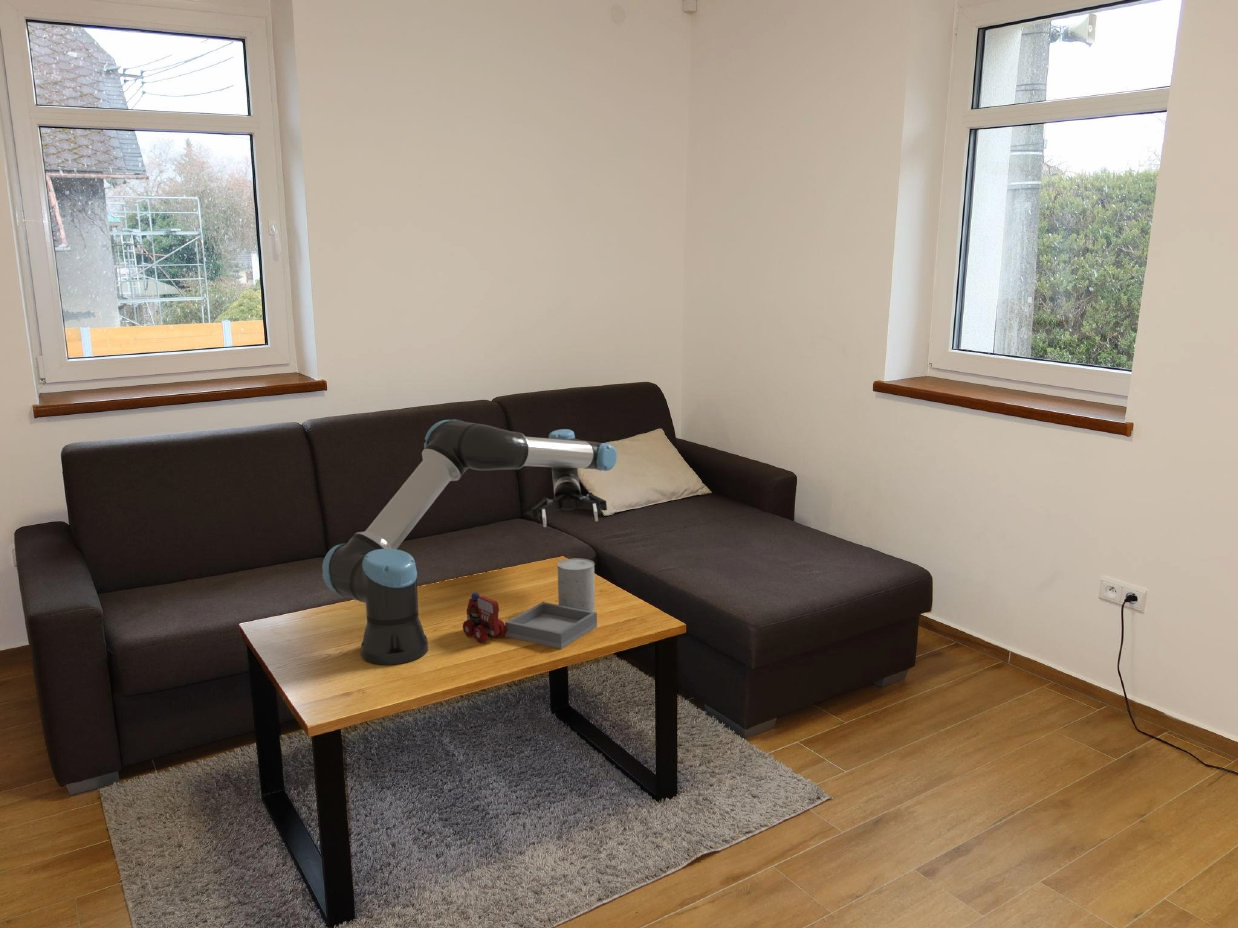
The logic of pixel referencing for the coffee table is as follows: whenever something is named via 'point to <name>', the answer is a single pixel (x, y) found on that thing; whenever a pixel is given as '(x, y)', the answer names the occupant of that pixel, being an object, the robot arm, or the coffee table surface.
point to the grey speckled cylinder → (576, 584)
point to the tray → (551, 625)
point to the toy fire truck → (483, 619)
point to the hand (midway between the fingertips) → (570, 519)
